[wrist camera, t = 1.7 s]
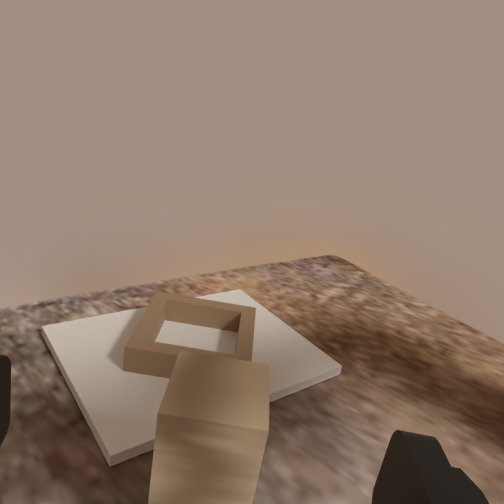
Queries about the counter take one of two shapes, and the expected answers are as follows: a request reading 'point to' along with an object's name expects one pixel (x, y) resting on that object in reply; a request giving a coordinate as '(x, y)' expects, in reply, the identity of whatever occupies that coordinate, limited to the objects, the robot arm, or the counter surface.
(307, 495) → the counter surface
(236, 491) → the maple peg
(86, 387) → the socket board
